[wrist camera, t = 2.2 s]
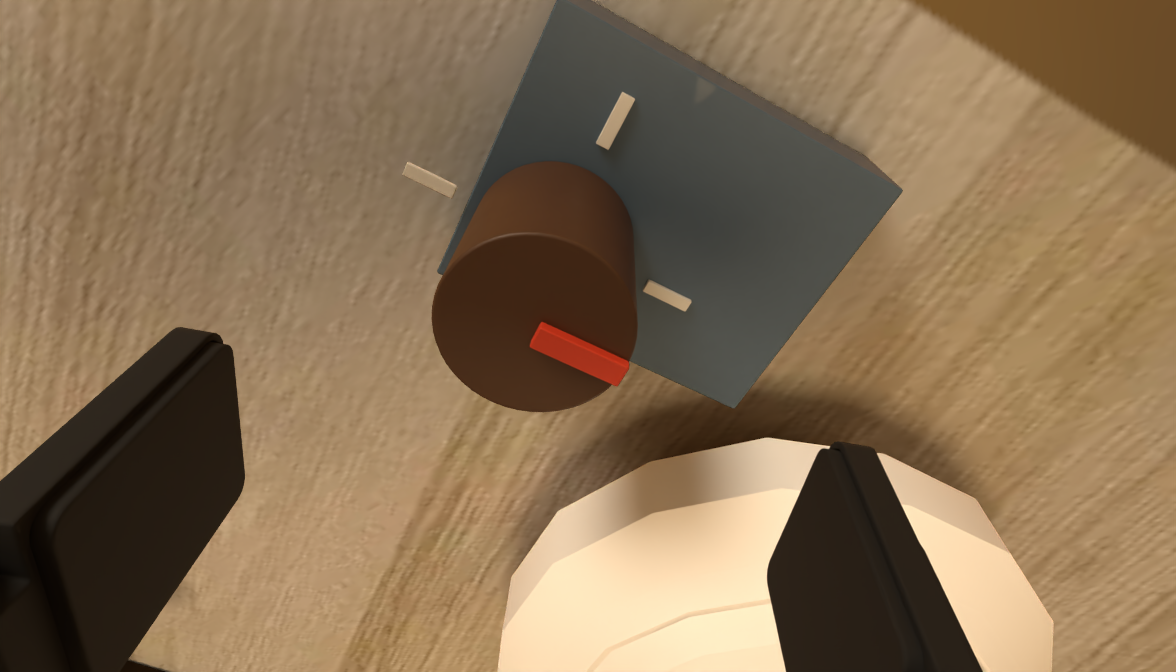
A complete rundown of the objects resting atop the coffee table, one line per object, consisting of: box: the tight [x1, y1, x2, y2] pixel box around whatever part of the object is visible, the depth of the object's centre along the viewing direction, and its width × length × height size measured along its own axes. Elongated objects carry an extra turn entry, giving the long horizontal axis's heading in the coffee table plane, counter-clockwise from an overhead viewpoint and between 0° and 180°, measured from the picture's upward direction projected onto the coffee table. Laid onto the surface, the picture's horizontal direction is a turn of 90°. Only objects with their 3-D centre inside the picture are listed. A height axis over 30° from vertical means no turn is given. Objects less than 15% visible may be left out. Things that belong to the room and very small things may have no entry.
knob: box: [432, 161, 638, 412], centre depth 17 cm, size 4×4×5 cm
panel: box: [403, 0, 903, 409], centre depth 20 cm, size 12×10×3 cm
